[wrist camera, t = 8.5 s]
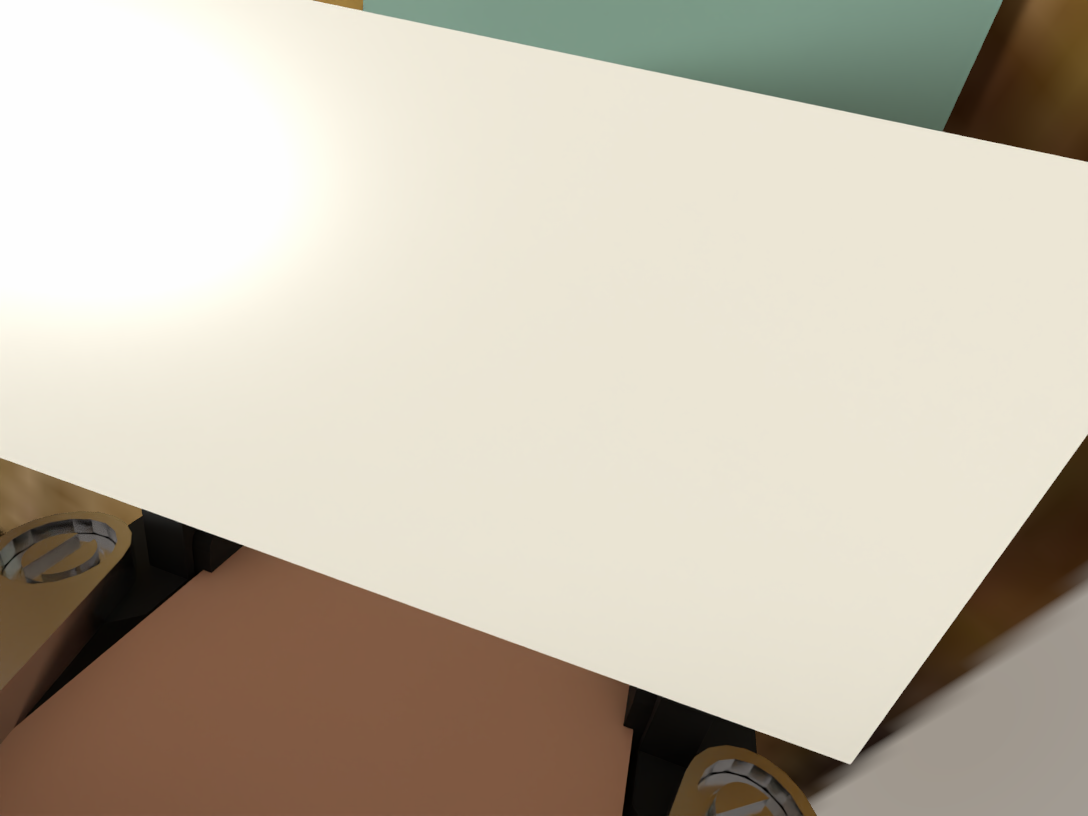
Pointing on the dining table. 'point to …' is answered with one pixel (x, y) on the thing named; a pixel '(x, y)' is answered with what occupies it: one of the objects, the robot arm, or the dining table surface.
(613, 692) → the salmon pink domino
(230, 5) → the domino
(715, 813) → the robot arm
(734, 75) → the felt mat
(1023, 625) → the dining table surface
